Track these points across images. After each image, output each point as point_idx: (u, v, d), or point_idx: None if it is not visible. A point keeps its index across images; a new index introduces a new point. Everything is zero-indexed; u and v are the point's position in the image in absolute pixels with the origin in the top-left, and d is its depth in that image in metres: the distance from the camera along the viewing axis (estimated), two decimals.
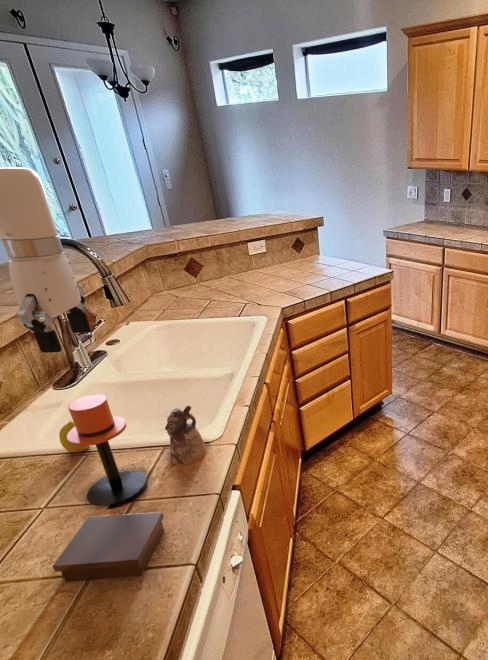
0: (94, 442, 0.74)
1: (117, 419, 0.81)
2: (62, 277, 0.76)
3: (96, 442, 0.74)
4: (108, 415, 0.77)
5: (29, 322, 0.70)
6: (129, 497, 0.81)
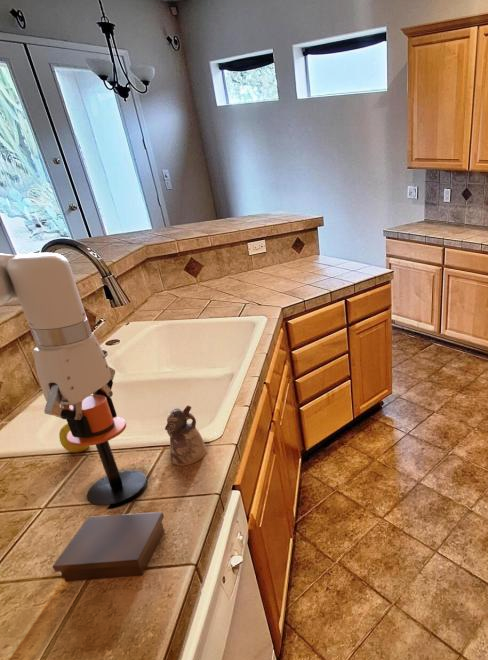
0: (94, 442, 0.74)
1: (117, 419, 0.81)
2: (89, 361, 0.72)
3: (96, 442, 0.74)
4: (108, 415, 0.77)
5: (59, 415, 0.69)
6: (129, 497, 0.81)
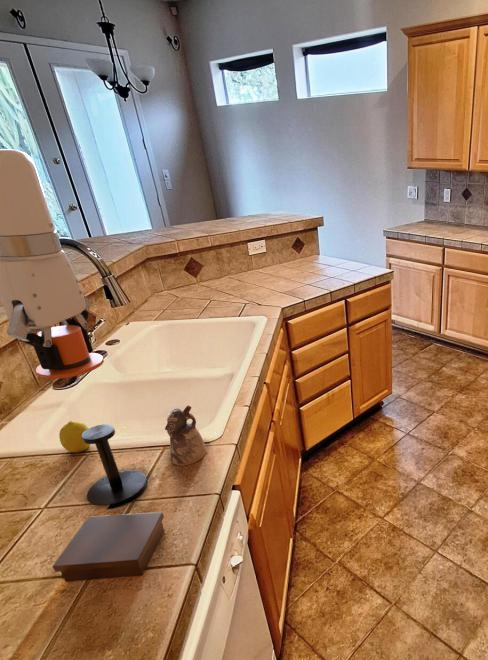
0: (66, 374, 0.66)
1: (94, 355, 0.73)
2: (59, 281, 0.64)
3: (69, 375, 0.66)
4: (83, 347, 0.69)
5: (24, 339, 0.61)
6: (129, 497, 0.81)
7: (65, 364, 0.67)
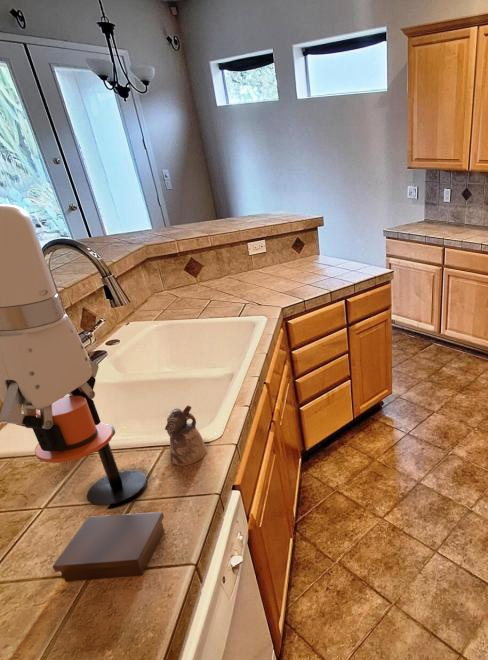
0: (70, 457, 0.57)
1: (101, 427, 0.63)
2: (61, 351, 0.55)
3: (72, 457, 0.57)
4: (89, 423, 0.59)
5: (20, 424, 0.52)
6: (129, 497, 0.81)
7: (68, 444, 0.58)
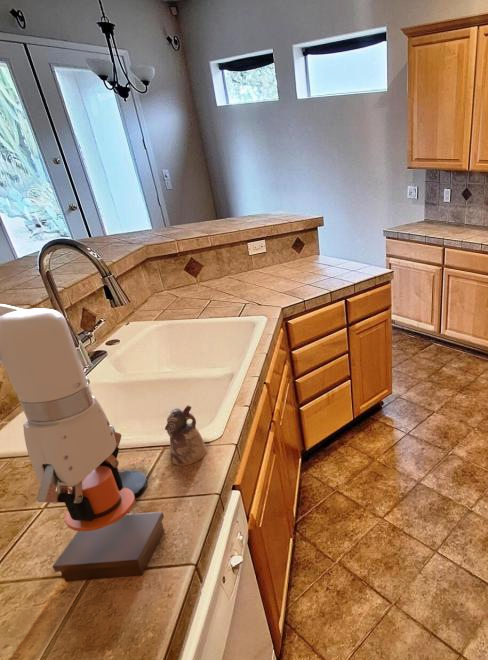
0: (98, 526, 0.62)
1: (124, 491, 0.69)
2: (90, 432, 0.60)
3: (100, 526, 0.63)
4: (114, 492, 0.65)
5: None
6: None
7: (96, 513, 0.63)
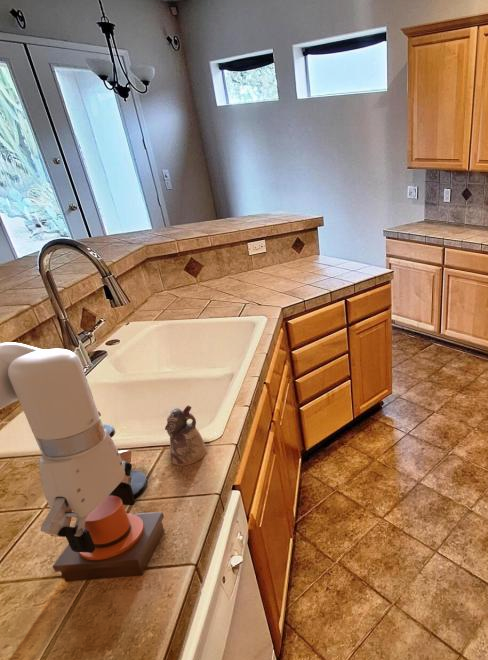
0: (109, 555, 0.65)
1: (133, 519, 0.71)
2: (101, 464, 0.63)
3: (111, 555, 0.65)
4: (124, 521, 0.68)
5: (55, 534, 0.58)
6: None
7: (107, 542, 0.66)
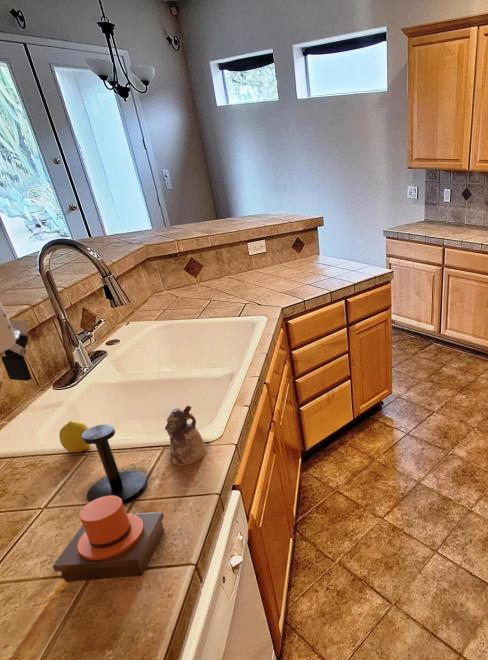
0: (109, 555, 0.65)
1: (133, 519, 0.71)
2: None
3: (111, 555, 0.65)
4: (124, 521, 0.68)
5: None
6: (129, 497, 0.81)
7: (107, 542, 0.66)
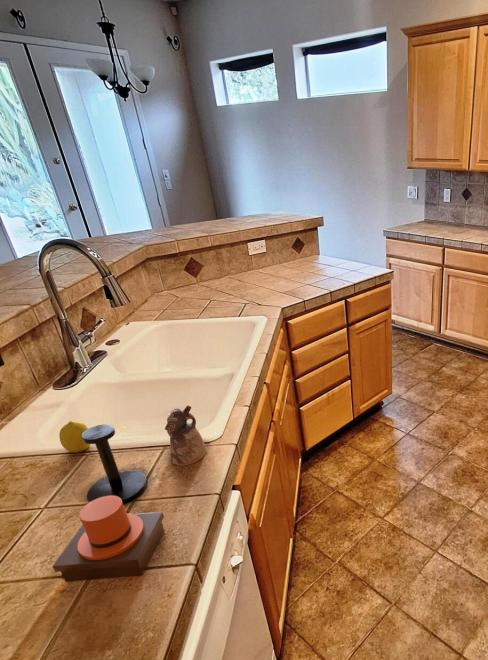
0: (109, 555, 0.65)
1: (133, 519, 0.71)
2: None
3: (111, 555, 0.65)
4: (124, 521, 0.68)
5: None
6: (129, 497, 0.81)
7: (107, 542, 0.66)
